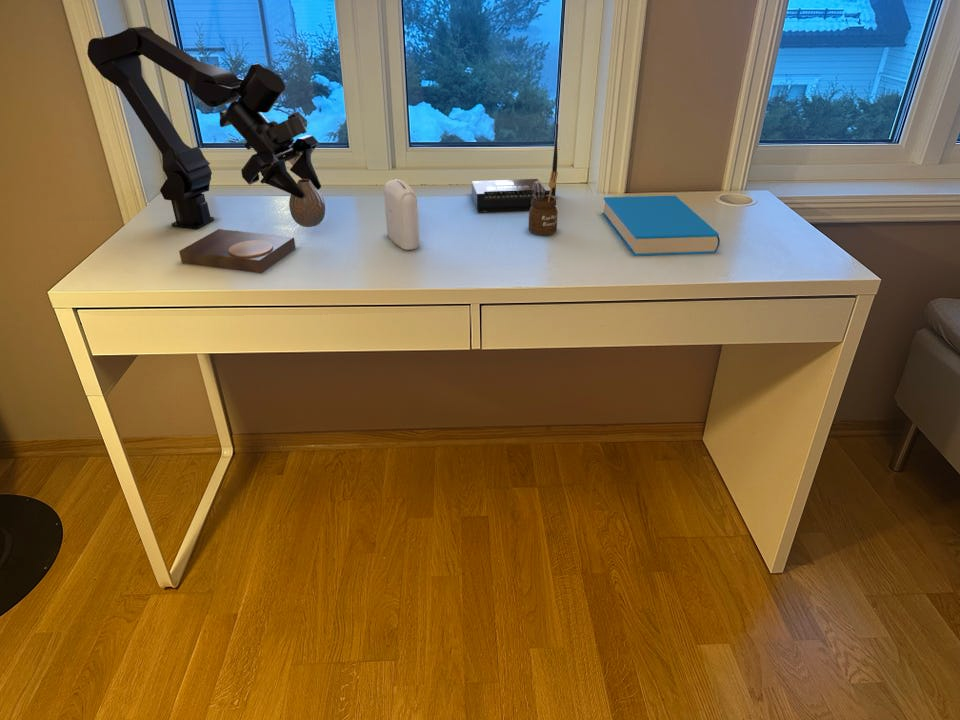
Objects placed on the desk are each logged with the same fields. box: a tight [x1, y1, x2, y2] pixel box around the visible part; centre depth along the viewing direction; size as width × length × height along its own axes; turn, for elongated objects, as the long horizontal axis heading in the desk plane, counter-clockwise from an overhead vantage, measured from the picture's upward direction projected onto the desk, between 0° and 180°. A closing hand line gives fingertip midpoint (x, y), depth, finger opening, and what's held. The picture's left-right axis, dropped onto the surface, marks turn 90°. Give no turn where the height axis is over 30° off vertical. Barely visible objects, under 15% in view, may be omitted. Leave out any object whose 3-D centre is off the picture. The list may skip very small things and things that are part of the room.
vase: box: [288, 178, 326, 228], centre depth 134 cm, size 7×7×9 cm
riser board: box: [178, 228, 297, 274], centre depth 130 cm, size 17×12×3 cm
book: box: [601, 195, 721, 257], centre depth 141 cm, size 17×4×25 cm
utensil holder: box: [528, 170, 559, 237], centre depth 139 cm, size 6×6×12 cm
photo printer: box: [383, 178, 420, 251], centre depth 134 cm, size 10×4×12 cm, turn 26°
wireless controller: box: [471, 123, 559, 214], centre depth 155 cm, size 20×14×17 cm
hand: (311, 192), depth 132 cm, fingers closed on vase, 5 cm apart
